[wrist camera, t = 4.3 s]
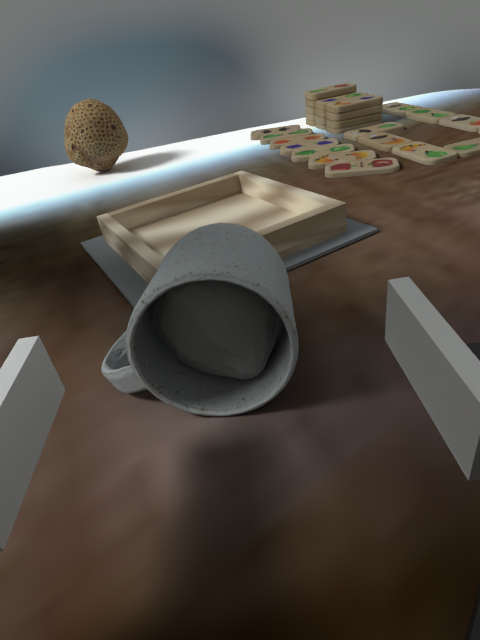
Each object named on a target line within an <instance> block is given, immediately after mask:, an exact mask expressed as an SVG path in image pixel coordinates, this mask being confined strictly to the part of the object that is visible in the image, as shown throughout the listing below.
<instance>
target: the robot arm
mask: <svg viewBox="0 0 480 640" xmlns="http://www.w3.org/2000/svg"><path fill="white" fill-rule="evenodd" d="M385 341H386V343H387V344H388V346H389V348H390V349H391V351H392V353H393V355H394V356H395V358H396V360H397V361H398V363H399V365H400V366H401V368H402V370H403V371H404V373H405V375H406V376H407V378H408V380H409V382H410V383H411V385H412V387H413V388H414V390H415V392H416V393H417V395H418V397H419V398H420V400H421V402H422V403H423V405H424V407H425V409H426V410H427V412H428V414H429V415H430V417H431V419H432V420H433V422H434V424H435V425H436V427H437V429H438V431H439V432H440V434H441V436H442V437H443V439H444V441H445V442H446V444H447V446H448V447H449V449H450V451H451V452H452V454H453V456H454V458H455V459H456V461H457V463H458V464H459V466H460V468H461V469H462V471H463V473H464V474H465V476H466V478H467V480H468V481H472V480H478V479H480V342H479V343H472V344H465V343H464V342H463V341H462V339H461V338H460V337H459V336H458V335H457V333H456V332H455V331H454V330H453V329H452V328H451V326H450V325H449V324H448V323H447V322H446V320H445V319H444V318H443V317H442V316H441V315H440V313H439V312H438V311H437V310H436V309H435V307H434V306H433V305H432V304H431V303H430V301H429V300H428V299H427V298H426V297H425V296H424V294H423V293H422V292H421V291H420V290H419V288H418V287H417V286H416V285H415V284H414V282H413V281H412V280H411V279H410V278H409V277H404V278H397V279H391V280H388V288H387V307H386V325H385ZM64 392H65V388H64V386H63V384H62V382H61V380H60V378H59V376H58V374H57V372H56V370H55V368H54V366H53V364H52V362H51V360H50V358H49V356H48V354H47V352H46V350H45V348H44V346H43V344H42V342H41V340H40V338H39V336H34V337H28V338H22V339H18V341H17V342H16V344H15V346H14V347H13V349H12V351H11V352H10V354H9V356H8V357H7V359H6V361H5V362H4V364H3V366H2V367H1V369H0V551H4V548H5V545H6V543H7V540H8V538H9V535H10V533H11V530H12V527H13V525H14V522H15V520H16V517H17V514H18V512H19V509H20V507H21V504H22V501H23V499H24V496H25V494H26V491H27V488H28V486H29V483H30V481H31V478H32V475H33V473H34V470H35V468H36V465H37V462H38V460H39V457H40V455H41V452H42V449H43V447H44V444H45V442H46V439H47V436H48V434H49V431H50V429H51V426H52V423H53V421H54V418H55V416H56V413H57V410H58V408H59V405H60V403H61V400H62V397H63V395H64ZM465 640H480V584H479V588H478V592H477V596H476V599H475V603H474V607H473V611H472V614H471V618H470V622H469V625H468V629H467V633H466V637H465Z"/></svg>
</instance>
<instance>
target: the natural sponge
mask: <svg viewBox="0 0 480 640" xmlns="http://www.w3.org/2000/svg"><path fill="white" fill-rule="evenodd" d="M127 143H128V134H127V132H126V129H125V127H124V126H123V123H122V122H121V120H120V118H119V116H118V115H117V114H116V113H115V112H114V110H112V109H111V108H110V107H109V106H107V105H106V104H104V103H102V102H100V101H98V100H95V99H86V100H84V101H81V102H79V103H77V104H75V105H74V106H73V107H72V108H71V110H70V111H69V113H68V115H67V118H66V122H65V149H66V153H67V155H68V157H69V158H70V160H71V161H73V162H74V163H75V164H78V165H81V166H84V167H88V168H91V169H93V170H96V171H107V170H109V169H111V168H112V167H113V166H114V164H115V163H116V161H117V160H118V158H119V156H120V155H121V154H122V153H123V152H124V151H125V149H126V146H127Z"/></svg>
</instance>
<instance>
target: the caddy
mask: <svg viewBox="0 0 480 640" xmlns="http://www.w3.org/2000/svg"><path fill="white" fill-rule="evenodd" d="M97 219H98V222H99V225H100V228H101V231H102V234H103V237H104V240H105V241H106V242H107V243H108V244H109V245H110V246H111V247H112V248H113V249H114V250H115V251H116V252H117V253H118V254H119V255H120V256H121V257H122V258H123V259H124V260H125V261H126V262H127V263H128V264H129V265H130V266H131V267H132V268H133V269H134V270H135V271H136V272H137V273H138V274H139V275H140V276H141V277H142V278H143V279H144V280H145V281H146V282H147V283H148V284H149V283H150V282H151V280H152V278H153V277H154V275H155V274H156V272H157V270H158V268H159V266H160V264H161V262H162V260H163V258H164V257H165V255H166V254H167V252H168V251H169V250H170V249H171V248H172V247H173V245H174V244H175V243H176V242H178V241H179V240H180V239H181V238H183V237H184V236H185V235H186V234H188V233H189V232H191V231H193V230H195V229H197V228H199V227H202V226H206V225H210V224H215V223H231V224H238V225H241V226H244V227H247V228H249V229H252V230H253V231H255V232H257V233H259V234H260V235H262V236H263V237H264V238H265V239H266V240H267V241H268V242H269V243H270V244H271V245H272V246H273V247H274V249H275V250H276V252H277V253H278V254H279V256H280V258H281V259H282V258H284V257H286V256H289V255H291V254H294V253H296V252H298V251H301V250H303V249H305V248H308V247H310V246H313V245H315V244H317V243H320V242H322V241H325V240H327V239H329V238H332V237H334V236H336V235H339V234H341V233H344V232H346V231H347V228H346V203H345V202H342V201H338V200H335V199H332V198H329V197H325V196H322V195H319V194H316V193H312V192H309V191H306V190H303V189H299V188H296V187H293V186H290V185H286V184H283V183H280V182H277V181H273V180H270V179H267V178H264V177H260V176H257V175H254V174H251V173H247V172H244V171H239V172H236V173H233V174H230V175H226V176H223V177H220V178H217V179H214V180H211V181H207V182H204V183H201V184H198V185H195V186H192V187H188V188H185V189H182V190H179V191H176V192H173V193H169V194H166V195H163V196H160V197H157V198H154V199H150V200H147V201H144V202H141V203H138V204H135V205H131V206H128V207H125V208H122V209H119V210H116V211H112V212H109V213H106V214H103V215H100V216H97Z"/></svg>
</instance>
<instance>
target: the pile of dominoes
mask: <svg viewBox="0 0 480 640" xmlns="http://www.w3.org/2000/svg"><path fill="white" fill-rule="evenodd" d="M305 99H306V124H307V125H310V126H316V128H319V129H322V130H326V131H327V132H330V133H333V134H341V133H344V138H346V139H350V140H353V141H358V142H359V143H361V144H364V145H367V146H370V147H373V148H376V149H379V150H381V151H386V152H389V151H392V153H393V154H396V155H399V156H401V157H404V158H407V159H410V160H413V161H416V162H419V163H422V164H425V165H434V164H439V163H443V162H447V161H451V160H455V159H457V158H458V157H470V156H474V155H478V154H480V138H476V139H471V140H467V141H463V142H459V143H455V144H450V145H446V146H444V147H443V148H440V147H437V146H434V145H430V144H426V143H423V142H413V141H412V140H409V139H406V138H402V137H399V136H395V135H392V134H390V133H394V132H399V131H402V130H404V125H403V124H400V123H395V122H385V123H382V120H381V119H382V113H384V114H389V115H394V116H399V117H405V118H408V119H413V120H417V121H422V122H427V123H432V124H436V123H438V124H439V125H443V126H447V127H452V128H456V129H461V130H466V131H470V132H478V133H479V134H480V118H479V117H474V116H469V115H457V114H456V113H452V112H446V111H441V110H436V109H431V108H422V107H420V106H415V105H409V104H403V103H397V102H395V103H389V104H384V105H382V103H383V98H382V96H378V95H369V94H368V93H361V92H356V85H355V84H352V83H344V84H339V85H334V86H330V87H324V88H320V89H315V90H310V91H307V92H305ZM251 140H260V142H261V144H262V145H267V144H270V149H271V150H277V149H280V155H283V156H285V155H292V162H303V161H309V164H308V166H309V169H323V168H325V177H327V178H337V177H348V176H359V175H370V174H381V173H392V172H397V171H399V169H400V165H399V163H398V160H397V159H395V158H380V159H377V157H376V154H375V152H374V151H373V150H363V151H355V148H354V146H353V145H352V144H341V145H339V142H338V140H337V139H335V138H332V139H325V136H324V134H321V133H318V134H313V131H312V129H309V128H306V129H300V126H299V125H291V126H284V127H277V128H270V129H262V130H256V131H253V132H251Z"/></svg>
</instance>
